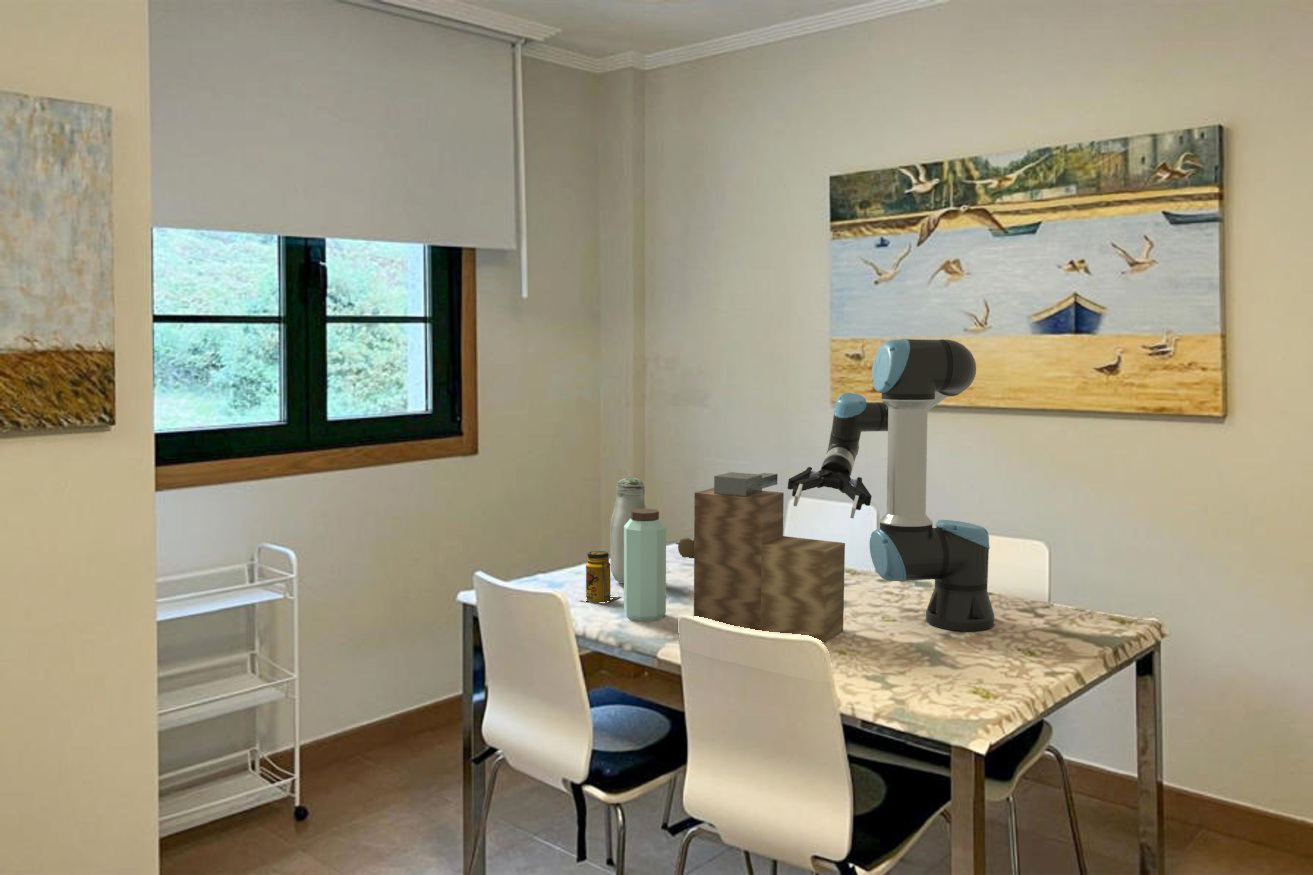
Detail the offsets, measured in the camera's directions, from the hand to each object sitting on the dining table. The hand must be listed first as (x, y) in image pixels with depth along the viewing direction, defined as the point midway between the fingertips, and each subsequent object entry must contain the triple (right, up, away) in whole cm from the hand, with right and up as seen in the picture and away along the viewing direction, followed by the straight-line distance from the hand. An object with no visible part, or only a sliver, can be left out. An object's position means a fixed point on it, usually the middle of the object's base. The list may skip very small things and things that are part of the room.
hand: (824, 507), depth 258 cm
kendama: (-25, -19, +65) cm, 72 cm away
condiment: (-53, -24, +14) cm, 60 cm away
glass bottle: (-47, -22, +30) cm, 60 cm away
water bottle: (-42, -26, -2) cm, 50 cm away
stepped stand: (-14, -26, -11) cm, 32 cm away
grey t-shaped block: (-18, +4, -5) cm, 19 cm away
